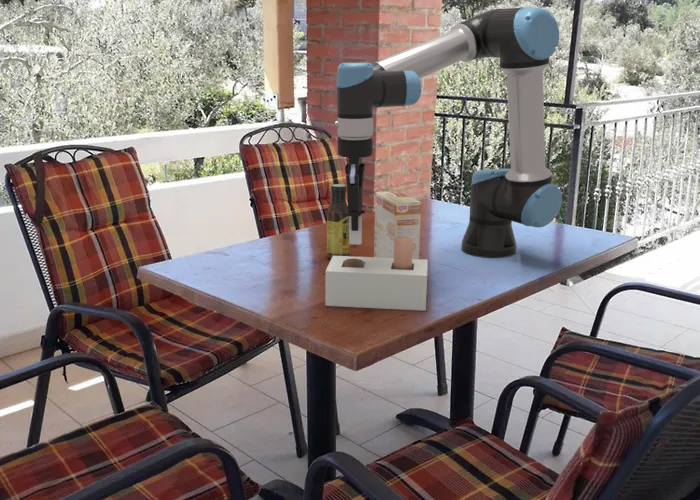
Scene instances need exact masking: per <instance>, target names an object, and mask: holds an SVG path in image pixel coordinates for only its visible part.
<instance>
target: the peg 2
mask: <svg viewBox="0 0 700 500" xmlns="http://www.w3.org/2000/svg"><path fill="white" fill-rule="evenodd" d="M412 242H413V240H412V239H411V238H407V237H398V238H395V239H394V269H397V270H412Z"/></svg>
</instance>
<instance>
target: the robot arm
mask: <svg viewBox="0 0 700 500" xmlns="http://www.w3.org/2000/svg"><path fill="white" fill-rule="evenodd" d="M559 42H560V27H559V24H558V22H557V20H556V18H555V17H554V15H552V14H551V12H550V11H549V10H547V9H546V8H543V7H533V6H522V7H521V6H520V7H509V8H508V7H507V8H495V9H491V10H487V11H485V12H482V13H480V14H478V15H475V16H472V17H469V18H468V19H465V20H464V21H461V22H459V23H456V24H455V25H453V26H452V27H451V29H450V31H448V32H446V33H443V34H441V35H438V36H436V37H434V38H431V39H429V40H427V41H424V42H421V43H419V44H416V45H414V46H412V47H410V48H407V49H405V50H402V51H400V52H397V53H395V54H393V55H390V56H387V57H386V58H383V59H381V60H378V61H375V62H374V63H370V62H342V63H340V64H339V65H337V66H338V67H337V73H336V83H335V85H336V86H335V87H336V109H337V111H336V112H337V120H336V121H335V122H334V126H335V127H337V136H338V137H339V138H338V139H337V155H338V156H339V157H341V158H347V159H348V161H347V162H348V163H346V164H345V166H344V168H345V169H344V173H345V179H346V184H345V185H346V189H347V190H346V194H347V195H346V199H347V206H348V213H346V216H349V244H350V245H362V243H363V223H362V222H363V219H362V218H363V215H362V214H366V210H363V208H364V205H363V195H364V194H363V193H364V191H363V190H364V188H363V187H364V181H365V170H366V164H365V163H363V158H368V157H372V155H373V151H374V150H373V144H374V143H373V140H374V139H373V138H372V136H373V135H374V134H373V133H374V115H373V113H374V109H375V108H376V109H377V108H391V107H392V108H393V107H402V108H404V107H406V106H412V105H415V104H417V103H418V101H419V100H420V98H421V95H422V81H421V78H423V77H427V76H428V75H431V74H434V73H435V72H438V71H440V70H442V69H445V68H447V67H450V66H452V65H454V64H456V63H459V62H462V63H470V62H471V61H474V60H478V59H484V58H486V59H487V58H496V59H498V58H499V69H500V70H501V71H502V72H503V73H504V74H505V75H506V89H507V92H506V93H507V110H508V112H507V114H508V135H509V157H510V159H509V160H510V168H486V169H479V170H476V171H474V172H473V174H472V176H471V184H470V197H469V198H470V199H469V200H470V201H469V221H468V225H467V227H466V230H465V232H464V234H463V238H462V240H461V251H462V252H463V253H466V254H467V255H471V256H475V257H482V258H490V259H491V258H496V259H497V258H506V257H510V256H513V255H515V254H516V253H517V241H516V238H515V234H514V229H513V223H518V224H520V225H523V226H525V227H532V228H544V227H546V226H547V225H549V224H551V223H552V222H553V221H554V220H555V218H556V216H557V215H558V214H559V212H560V210H561V208H562V204H563V194H562V190H561V189H560V188H559V186H557V185H556V184H554V183H553V177H552V176H553V175H552V174H553V173H552V171H551V170H550V169H549V168H547V166H546V141H545V140H546V138H545V109H544V107H545V105H544V103H545V101H544V100H545V99H544V71H545V69H547V67H548V66H549V65H550V57H552V55H554V54H555V52H556V50H557V48H556V47H558V46H559Z"/></svg>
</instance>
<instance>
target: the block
mask: <svg viewBox="0 0 700 500" xmlns="http://www.w3.org/2000/svg"><path fill="white" fill-rule="evenodd" d="M347 259H360V260H362V261H363V266H362V268H351V267H345V260H347ZM428 261H429V259H425V258H424V259H420V258H419V259H412V270H397V269H394V258H377V257H374V256H372V257H371V256H354V255H353V256H350V255H349V256H333V257H332V259H330V261H329V263H328V265H327V267H326V270H325V276H324V277H325V283H324V284H325V290H324V291H325V298H324V299H325V300H324V301H325V302H324V303H325V306H326V307H342V308H343V307H344V308H360V309H361V308H363V309H366V308H367V309H383V310H384V309H385V310H402V311H403V310H404V311H405V310H406V311H424V312H425V311H427V288H428V287H427V284H428Z"/></svg>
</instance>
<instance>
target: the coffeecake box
mask: <svg viewBox="0 0 700 500" xmlns="http://www.w3.org/2000/svg"><path fill="white" fill-rule="evenodd" d="M374 198H375V203H374V204H375V205H374V206H375V207H374V242H373V243H374V247H373V251H374V252H373V254H374V255H373V257H377V258H394V239H395V238H398V237H407V238H411V239H412V240H413V242H412V259H420V243H421V242H420V241H421V223H422V222H421V221H422V220H421V219H422V218H421V217H422V213H421V212H422V202H421V201H419V200H418V199H415V198H414V197H411V196H410V195H408V194H406V193H405V192H403V191H401V190H390V191H389V190H388V191H375V197H374Z"/></svg>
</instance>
